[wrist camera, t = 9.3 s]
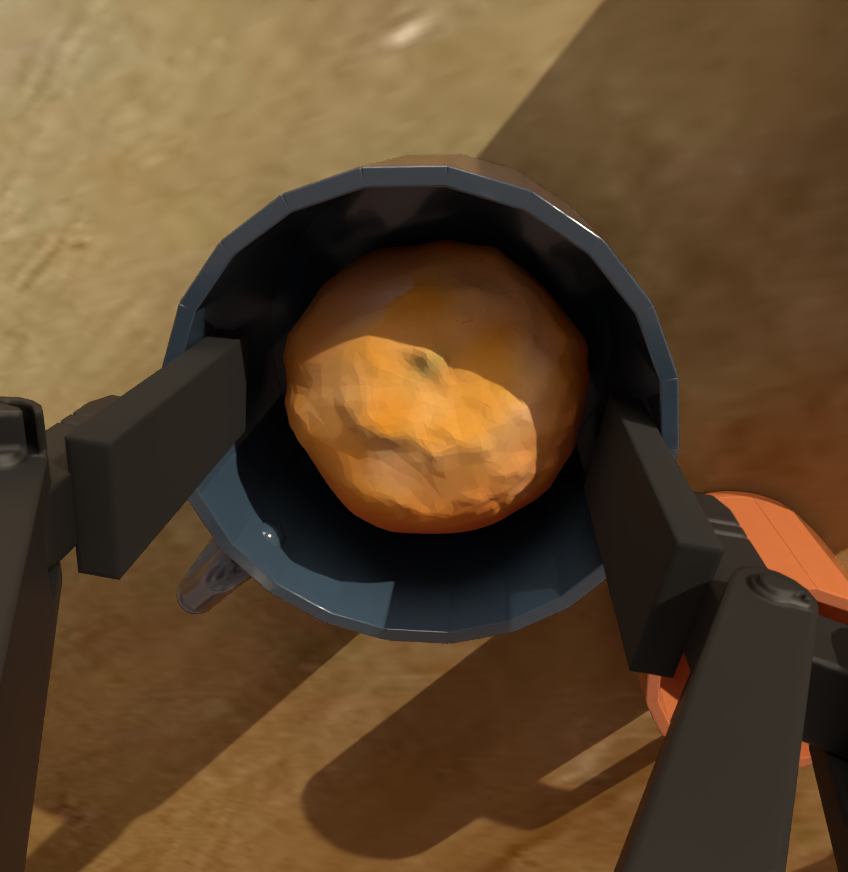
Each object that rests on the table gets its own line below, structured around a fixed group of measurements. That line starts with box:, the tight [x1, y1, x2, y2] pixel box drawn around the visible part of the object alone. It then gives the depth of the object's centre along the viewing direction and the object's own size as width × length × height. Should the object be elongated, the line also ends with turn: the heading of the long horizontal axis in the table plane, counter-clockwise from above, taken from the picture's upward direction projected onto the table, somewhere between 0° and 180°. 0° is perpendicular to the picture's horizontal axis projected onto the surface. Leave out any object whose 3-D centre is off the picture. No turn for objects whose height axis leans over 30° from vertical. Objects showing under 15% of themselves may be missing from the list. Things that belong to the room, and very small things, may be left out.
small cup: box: [638, 491, 848, 768], centre depth 22 cm, size 10×7×6 cm
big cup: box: [162, 154, 679, 644], centre depth 19 cm, size 15×12×8 cm
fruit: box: [283, 240, 590, 534], centre depth 19 cm, size 8×8×8 cm
